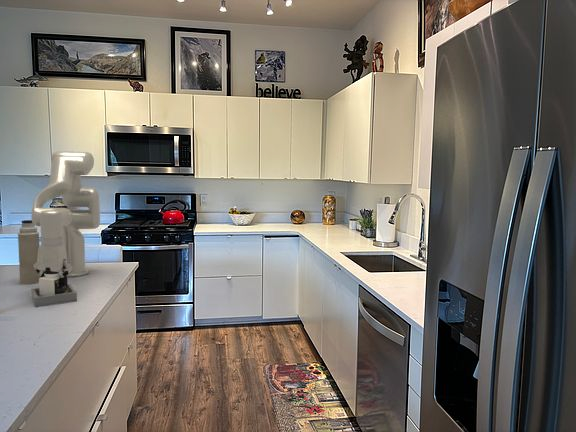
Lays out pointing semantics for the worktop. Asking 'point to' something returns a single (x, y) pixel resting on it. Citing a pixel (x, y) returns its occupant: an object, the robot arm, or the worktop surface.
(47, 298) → the tray
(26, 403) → the worktop surface
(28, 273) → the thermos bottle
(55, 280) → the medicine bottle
